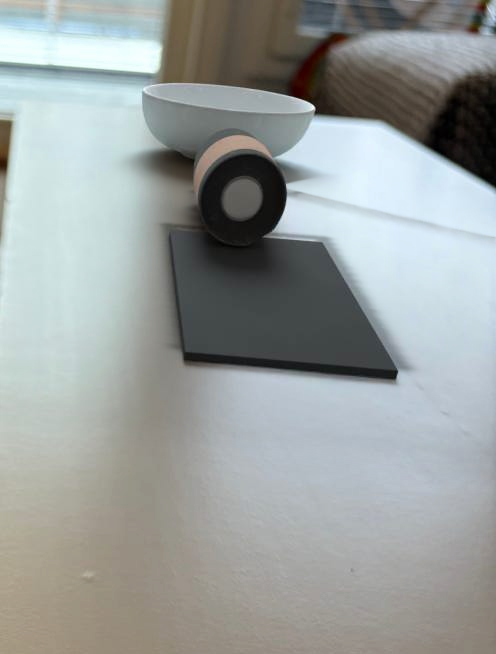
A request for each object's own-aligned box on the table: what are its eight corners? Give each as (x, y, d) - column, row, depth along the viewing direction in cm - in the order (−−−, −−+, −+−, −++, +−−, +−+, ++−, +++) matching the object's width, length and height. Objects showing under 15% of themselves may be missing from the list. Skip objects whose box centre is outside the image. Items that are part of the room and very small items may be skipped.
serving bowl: (269, 185, 111) (282, 117, 106) (106, 156, 119) (113, 92, 115) (324, 159, 125) (338, 99, 121) (176, 135, 133) (184, 77, 129)
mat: (169, 235, 90) (170, 229, 90) (320, 248, 90) (322, 241, 89) (183, 360, 65) (185, 351, 64) (396, 379, 64) (398, 370, 64)
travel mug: (204, 115, 98) (214, 140, 81) (277, 135, 98) (302, 164, 81) (180, 196, 102) (185, 235, 85) (250, 215, 102) (269, 257, 86)
